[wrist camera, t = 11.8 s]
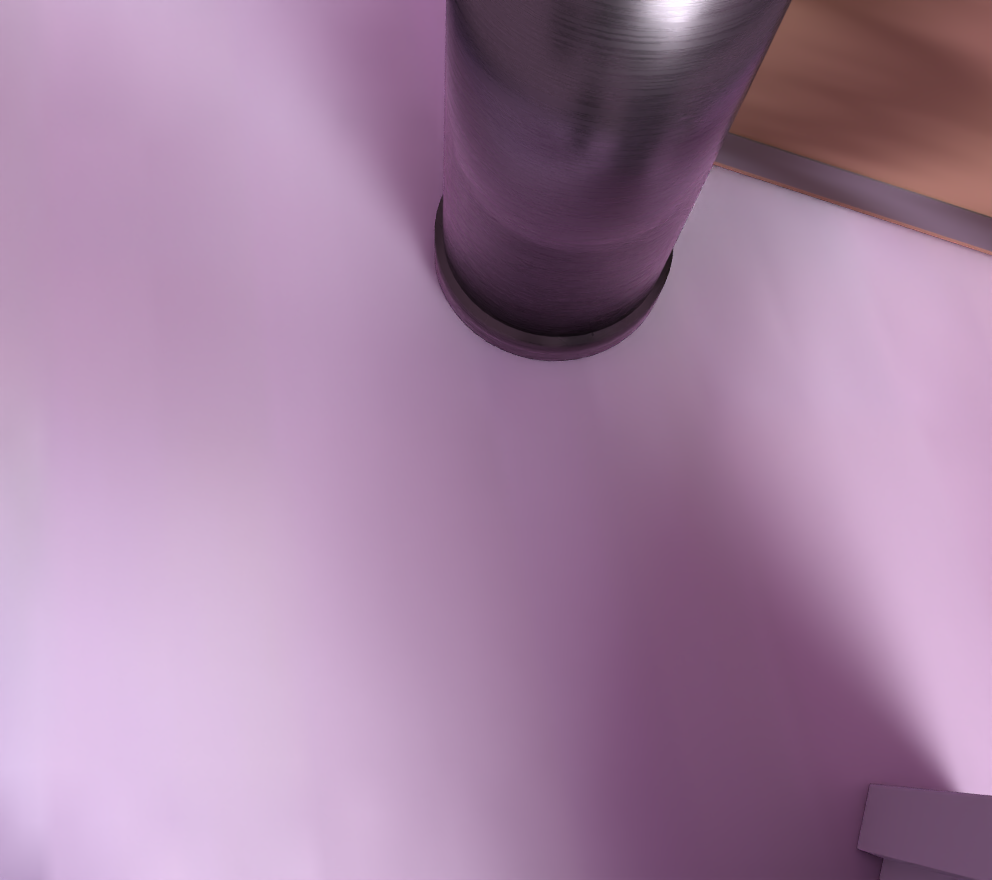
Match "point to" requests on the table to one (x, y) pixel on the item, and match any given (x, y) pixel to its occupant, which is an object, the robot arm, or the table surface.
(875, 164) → the door
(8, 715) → the table surface
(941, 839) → the wall frame
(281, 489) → the table surface
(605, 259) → the dark metallic tumbler
